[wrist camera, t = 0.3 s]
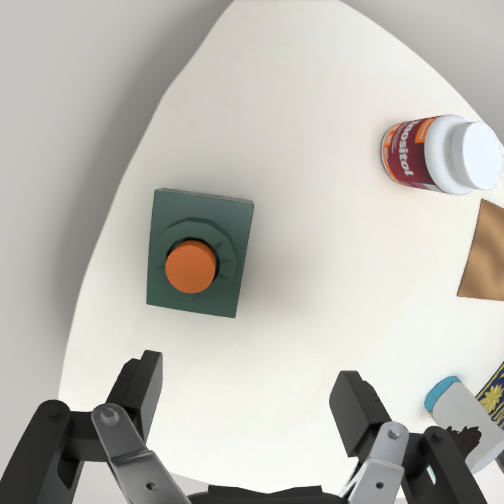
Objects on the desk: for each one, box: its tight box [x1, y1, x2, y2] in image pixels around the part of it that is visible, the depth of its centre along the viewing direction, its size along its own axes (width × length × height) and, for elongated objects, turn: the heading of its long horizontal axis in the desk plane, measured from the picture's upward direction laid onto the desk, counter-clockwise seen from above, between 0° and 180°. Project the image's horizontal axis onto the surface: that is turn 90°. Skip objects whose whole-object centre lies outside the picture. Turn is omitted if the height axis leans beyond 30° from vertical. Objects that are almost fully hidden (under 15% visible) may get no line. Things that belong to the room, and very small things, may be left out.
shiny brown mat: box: [457, 199, 504, 301], centre depth 28 cm, size 12×12×1 cm
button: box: [165, 240, 216, 293], centre depth 22 cm, size 4×4×2 cm
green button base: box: [146, 189, 254, 318], centre depth 24 cm, size 10×8×4 cm
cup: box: [425, 376, 504, 474], centre depth 26 cm, size 7×7×15 cm
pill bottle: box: [381, 115, 503, 195], centre depth 19 cm, size 6×6×11 cm
